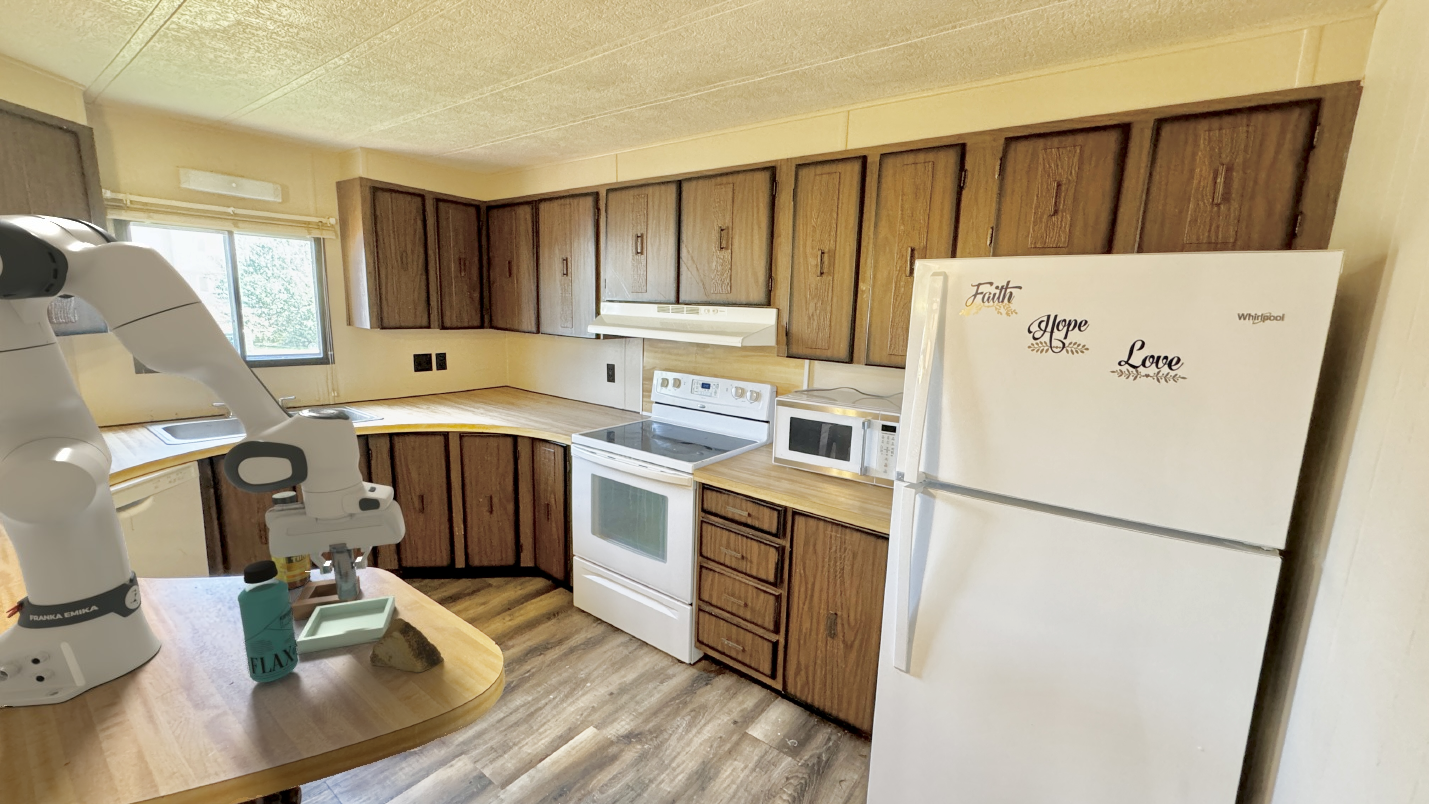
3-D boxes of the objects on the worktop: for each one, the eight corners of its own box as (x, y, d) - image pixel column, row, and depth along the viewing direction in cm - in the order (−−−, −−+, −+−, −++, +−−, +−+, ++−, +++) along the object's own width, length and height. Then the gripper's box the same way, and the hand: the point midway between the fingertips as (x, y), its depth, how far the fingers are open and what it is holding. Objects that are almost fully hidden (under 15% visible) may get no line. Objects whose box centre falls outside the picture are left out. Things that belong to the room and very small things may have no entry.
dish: (298, 654, 95) (296, 641, 95) (318, 618, 105) (316, 606, 105) (384, 639, 100) (383, 627, 99) (395, 606, 110) (394, 595, 109)
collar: (294, 620, 104) (292, 606, 104) (309, 595, 113) (307, 582, 112) (349, 612, 108) (347, 598, 107) (360, 588, 116) (359, 575, 115)
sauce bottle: (292, 593, 113) (279, 502, 109) (267, 588, 115) (253, 499, 110) (320, 577, 120) (309, 491, 116) (296, 573, 121) (284, 487, 117)
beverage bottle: (245, 696, 85) (225, 579, 81) (256, 670, 91) (238, 559, 87) (297, 684, 88) (280, 570, 84) (304, 659, 94) (289, 551, 90)
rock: (347, 659, 91) (375, 677, 85) (373, 606, 94) (402, 620, 89) (406, 667, 99) (436, 684, 93) (428, 618, 102) (459, 631, 97)
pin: (330, 604, 99) (321, 546, 96) (337, 590, 103) (329, 535, 100) (359, 599, 100) (352, 543, 98) (365, 586, 104) (358, 531, 102)
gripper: (255, 513, 91) (268, 588, 94) (396, 499, 98) (404, 569, 101) (270, 499, 97) (282, 570, 100) (402, 486, 104) (409, 553, 107)
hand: (344, 570), depth 100 cm, fingers closed on pin, 4 cm apart
